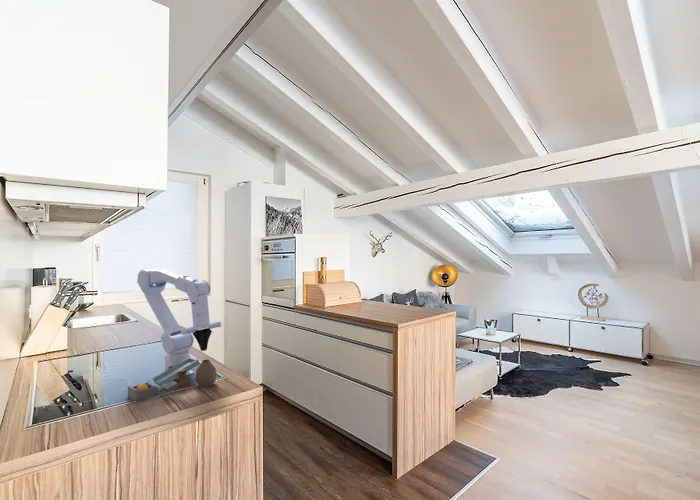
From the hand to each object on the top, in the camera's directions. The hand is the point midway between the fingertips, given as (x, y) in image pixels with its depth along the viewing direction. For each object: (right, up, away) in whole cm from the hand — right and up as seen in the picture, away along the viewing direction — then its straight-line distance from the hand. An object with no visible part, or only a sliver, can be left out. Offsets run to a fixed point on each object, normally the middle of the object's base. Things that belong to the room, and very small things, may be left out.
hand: (203, 350), depth 132 cm
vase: (+4, -11, -7) cm, 13 cm away
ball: (-14, -9, -15) cm, 22 cm away
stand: (-7, -11, -6) cm, 14 cm away
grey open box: (-14, -11, -15) cm, 23 cm away
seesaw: (-4, -7, -9) cm, 12 cm away
